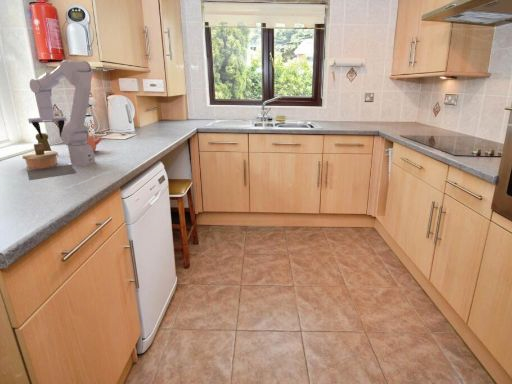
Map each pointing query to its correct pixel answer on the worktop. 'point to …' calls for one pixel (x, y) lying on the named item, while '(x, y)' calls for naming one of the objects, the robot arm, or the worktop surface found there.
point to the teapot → (93, 141)
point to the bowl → (41, 162)
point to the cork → (44, 141)
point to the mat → (50, 172)
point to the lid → (39, 153)
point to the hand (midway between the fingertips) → (51, 138)
